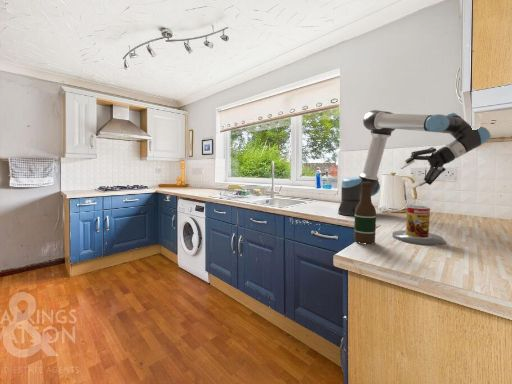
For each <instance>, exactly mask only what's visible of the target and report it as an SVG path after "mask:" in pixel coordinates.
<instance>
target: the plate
mask: <svg viewBox="0 0 512 384" xmlns="http://www.w3.org/2000/svg"><path fill="white" fill-rule="evenodd" d="M392 238H393V239H395V238H396V240H397V239H398V240H399V241H400V240H401V242H404V243H409V244H413V243H414V244H415V245H422V246H423V245H424V246H435V245H434V244H439V245H442V243H443V244H444V242H445V240H444V239H445V238H444V237H442V236H441V235H438V234H435V233H430V232H429V233H428V237H427V238H417V237H411V236H408V235H406V229H405V230H402V229H401V230H395V231H393V232H392Z"/></svg>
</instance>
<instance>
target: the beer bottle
mask: <svg viewBox="0 0 512 384" xmlns="http://www.w3.org/2000/svg"><path fill="white" fill-rule="evenodd" d="M361 185H362V190H361V199H360V203H359V204H358V205H357V207H356V209H355V216H354V221H353V222H354V226H353V227H354V229H353V240H354V242H355V243H356V242H360V243H366V244H371V245H373V244H372V243H374V244H375V243H376V225H377V211H376V207H375V206H374V204H373V202H372V196H371V185H372V184H371V182H362V183H361Z"/></svg>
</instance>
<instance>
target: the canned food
mask: <svg viewBox="0 0 512 384" xmlns="http://www.w3.org/2000/svg"><path fill="white" fill-rule="evenodd" d="M430 213H431V207H428V206H424V205H423V206H422V205H407V207H406V228H405V230H406V235H408V236H411V237H417V238H427V237H428V233H430V229H429V228H430V215H431V214H430Z"/></svg>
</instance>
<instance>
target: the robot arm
mask: <svg viewBox="0 0 512 384" xmlns="http://www.w3.org/2000/svg"><path fill="white" fill-rule="evenodd" d="M362 121H363V126H364V127H365V129H367V130H368V131H370V135H371V140H370V142H369V146H368V147H369V148H368V151H367V156H366V158H365V159H366V160H365V163H364V167H363V171H362V173H360V174H359V176H358V177H357V176H355V177H346V178H343V179H342V180H341V184H340V185H341V193H340V194H341V198H340V205H339V206H338V210H337V213H339V214H338V215H341V214H342V215H341V216H346V215H349V217H355V209H356V207H357V205H358V204H359V203H360V199H361V190H362V185H361V183H362V182H371V184H372V185H371V197H373V196H375V195H377V194H378V193H379V192H380V188H381V184H380V181H379V177H378V173H379V169H380V165H381V162H382V158H383V155H384V152H385V148H386V143H387V141H388V138H390V137H391V136H392V132H394V131H395V130H403V131H404V130H407V131H420V132H429V133H442V134H449V135H451V136H452V137H453V138H454V139H455V140H453V141H451V142H449V143H447V144H446V145H445V146H443V147H441V148H439V149H438V150H437V148H435V147H434V146H432V147H430V148H427V149H420V150H416V151H412V152H411V153H410V156H409V157H408V158H407V159H406V160H405V161H404V162H403V163H401V164H399V165H398V167H399V169H400V170H403V169H405V168H406V167H408V166H410V165H412V164H413V163H416V161H419V160H420V161H427V162H428V164H429V170H428V171H427V173H426V174H425V176H424V178H420V179H418V180H417V181H415V182H414V183H411V184H409V187H410V189H412V190H414V189H416V188H418V187H422V186H423V185H426V184H428V185H429V186H431V185H432V184H433V183H434V181H436V180H437V178H439V176H440V175H441V174H442V173H443V172H446V168H445V167H444V165H446V164H447V165H448V164H450V163H451V162H453V161H454V160H455V159H459V158H460V157H461V156H464V155H466V154H468V153H469V152H470V151H472V150H474V149H476V148H479V147H481V146H482V145H483V144H484V143H486V142H488V141H489V140H491V136H492V135H491V133H490V131H489V130H488V129H487V128H486V127H484V126H482V127H480V128H479V129H477V130H472V128H471V126H472V125H471V124H469V122H467V121H466V120H465V119H464V118H462V117H461V116H460V115H459V114H457V113H455V112H451V113H448V114H446V115H445V114H438V113H437V114H416V113H415V114H414V113H413V114H411V113H409V114H408V113H405V114H404V113H394V112H391V111H383V110H379V109H378V110H377V109H373V110H369V111H368V112H367V113H366V114H365V115H364V117H363V120H362ZM470 125H471V126H470ZM428 154H430V155H428Z"/></svg>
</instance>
